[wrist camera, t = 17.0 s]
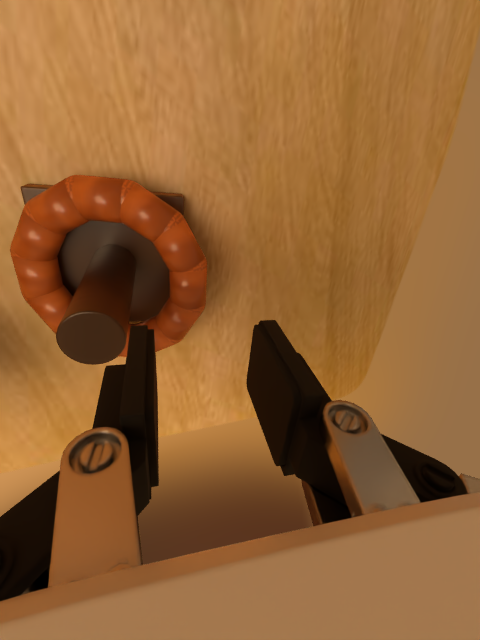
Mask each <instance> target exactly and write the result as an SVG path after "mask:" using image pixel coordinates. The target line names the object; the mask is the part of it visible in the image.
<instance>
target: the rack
mask: <svg viewBox="0 0 480 640" xmlns="http://www.w3.org/2000/svg"><path fill="white" fill-rule="evenodd" d="M50 187H52V185H36V184H27V185H24V186H21V191H22V195H23V199H24V204H26V203H27V202H28V201H29V200H30V199H32V198H33V197H35V196H37V195H38V194H40V193H42V192H44V191H45V190H47V189H49V188H50ZM151 193H153V194H154V195H155V196H157V197H158V198H160V199H161V200H163V201H164V202H166V203H167V204H169V205H170V206H171V207H173V208H174V209H176V210H177V211H179V212H180V213H181V214H182V215H183V217H184V197H183V195H182V194H176V193H160V192H151ZM57 257H58V262H59V267H60V272H61V277H62V282H63V285H64V286H65V287H66V288H67V290H68V291H69V292H70V293H71V295H72V296H73V298H72V300H71V302H70V304H69V306H68V308H67V310H66V312H65V314H64V316H63V318H62V320H61V322H60V324H59V326H58V328H57V332H56V339H57V343H58V345H59V347H60V349H61V350H62V351H63V353H64V354H66V355H67V356H68V357H70V358H71V359H73V360H75V361H77V362H80V363H84V364H103V363H106V362H109V361H111V360H113V359H115V358H116V357H118V356H119V355H120V354H121V353H122V351H123V350H124V348H125V345H126V340H127V333H128V325H129V322H135V321H145V320H147V319H150V318H152V317H154V316H156V315H158V314H159V312H160V311H161V309H162V308H163V306H164V305H165V303H166V301H167V300H168V298H169V297H170V279H169V269H168V267H167V265H166V264H165V262H164V261H163V259H162V257H161V256H160V254H159V252H158V251H157V249H156V247H155V246H154V244H153V242H151V241H150V240H148V239H147V238H145V237H143V236H142V235H140V234H139V233H137V232H136V231H134V230H132V229H131V228H129V227H128V226H126V225H125V224H123V223H115V222H103V221H92V220H90V221H88V222H87V223H85V224H83V225H81V226H79V227H77V228H75V229H74V230H72V231H70V232H68V233H67V234H66V237H65V239H64V241H63V244H62V246H61V249H60V251H59V253H58V256H57Z"/></svg>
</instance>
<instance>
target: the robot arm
mask: <svg viewBox="0 0 480 640" xmlns="http://www.w3.org/2000/svg"><path fill="white" fill-rule="evenodd" d="M247 389H248V392H249V395H250V398H251V400H252V403H253V406H254V408H255V411H256V414H257V417H258V419H259V422H260V425H261V427H262V430H263V433H264V436H265V439H266V441H267V444H268V446H269V449H270V452H271V455H272V458H273V460H274V463H275V464H276V466H281V469H282V471H283V474H284V476H287V475H293V474H295V475H296V477H298V478H300V479H301V480H302V486H303V490H304V494H305V498H306V501H307V505H308V509H309V512H310V516H311V519H312V523H313V527H308V528H304V529H299V530H295V531H291V532H286V533H281V534H277V535H273V536H268V537H263V538H259V539H255V540H250V541H246V542H241V543H237V544H232V545H228V546H224V547H219V548H215V549H210V550H206V551H202V552H197V553H193V554H189V555H184V556H180V557H176V558H171V559H167V560H163V561H158V562H154V563H150V564H146V565H143V561H142V552H141V543H140V534H139V524H138V515H139V514H140V513H141V511H142V510H143V509H144V508H145V507H146V506H147V505H148V503H149V499H151V487H154V486H158V483H159V480H158V479H159V478H158V396H157V374H156V355H155V336H154V329H148V326H147V325H138V326H130V334H129V342H128V350H127V358H126V364H125V365H110V366H106V368H105V371H104V376H103V381H102V386H101V390H100V395H99V400H98V405H97V409H96V414H95V419H94V424H93V428H92V429H91V430H88V431H85V432H84V433H82V434H80V435H78V436H77V437H76V438H74V439H73V440H72V441H71V442H70V443H69V444H68V446H67V447H66V448H65V450H64V451H63V455H62V458H61V465H60V471H58V472H57V473H56V474H55V475H53V476H52V477H51V478H50V479H48V480H47V481H46V482H44V483H43V484H42V485H41V486H39V487H38V488H37V489H35V490H34V491H33V492H32V493H30V494H29V495H28V496H26V497H25V498H24V499H23V500H21V501H20V502H19V503H18V504H16V505H15V506H14V507H12V508H11V509H10V510H9V511H7V512H6V513H5V514H3V515H2V516H1V517H0V640H480V479H478V478H475V477H471V476H468V475H464V474H462V473H461V474H460V476H458V475H457V474H456V473H455V472H454V471H453V470H452V469H450V468H449V467H448V466H447V465H445V464H443V463H441V462H439V461H438V460H436V459H434V458H432V457H430V456H427V455H425V454H423V453H421V452H419V451H417V450H415V449H412V448H410V447H408V446H406V445H404V444H402V443H399V442H397V441H395V440H393V439H391V438H389V437H386V436H384V435H382V434H380V432H379V430H378V429H377V427H376V425H375V424H374V422H373V420H372V418H371V417H370V416H369V415H368V413H367V412H366V411H365V410H363V409H362V408H361V407H359V406H357V405H355V404H354V403H351V402H348V401H342V400H336V401H332V400H331V399H330V397H329V396H328V394H327V393H326V391H325V390H324V388H323V387H322V385H321V384H320V382H319V381H318V379H317V378H316V376H315V375H314V373H313V372H312V370H311V369H310V367H309V366H308V364H307V363H306V361H305V360H304V358H303V357H302V356H301V355H300V354H299V353H297V352H296V351H295V349H294V348H293V346H292V345H291V343H290V342H289V340H288V339H287V337H286V336H285V334H284V333H283V331H282V329H281V328H280V326H279V325H278V323H277V322H276V321H275V320H266V321H260V322H259V324H258V325H255V326H254V330H253V337H252V344H251V352H250V359H249V366H248V374H247Z"/></svg>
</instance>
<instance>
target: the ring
mask: <svg viewBox="0 0 480 640" xmlns="http://www.w3.org/2000/svg"><path fill="white" fill-rule="evenodd" d="M90 220H92V221H103V222H115V223H123V224H125V225H126V226H128V227H129V228H131V229H132V230H134V231H136V232H137V233H139V234H140V235H142V236H143V237H145V238H147V239H148V240H150V241H151V242H153V244H154V246H155V247H156V249H157V251H158V252H159V254H160V256H161V257H162V259H163V261H164V262H165V264H166V265H167V267H168V269H169V279H170V297H169V298H168V300H167V301H166V303H165V305H164V306H163V308H162V309H161V311H160V312H159V314H158V315H156V316H154V317H152V318H150V319H147V320H145V321H143V322H141V323H138V324H129V325H128V333H127V340H126V345H125V348H124V350H123V351H122V353H121V354H120V355H119V356H122V357H127V350H128V342H129V334H130V326H138V325H147V326H148V329H154V336H155V352H157V351H159V350H162V349H164V348H167V347H169V346H172V345H174V344H176V343H178V342H180V341H181V340H182V339H183V338H184V337H185V335H186V334H187V332H188V331H189V330H190V328H191V327H192V326H193V324H194V323H195V321H196V320H197V319H198V317H199V316H200V314H201V313H202V312H203V310H204V308H205V305H206V283H207V261H206V258H205V256H204V254H203V252H202V250H201V248H200V246H199V244H198V243H197V241H196V239H195V237H194V235H193V233H192V231H191V229H190V228H189V226H188V224H187V222H186V220H185V218H184V217H183V215H182V214H181V213H180V212H179V211H177V210H176V209H174V208H173V207H171V206H170V205H169V204H167V203H166V202H164V201H163V200H161V199H160V198H158V197H157V196H155V195H154V194H153V193H151V192H150V191H148V190H147V189H145V188H144V187H142V186H141V185H139V184H138V183H136V182H134V181H132V180H127V179H117V178H106V177H96V176H85V175H73V176H70V177H68V178H66V179H64V180H62V181H61V182H59V183H57V184H56V185H54V186H52V187H50V188H49V189H47V190H45V191H44V192H42V193H40V194H38V195H37V196H35V197H33V198H32V199H30V200H29V201H28V202H27V203H26V204H25V206H24V209H23V212H22V215H21V217H20V220H19V223H18V226H17V229H16V232H15V235H14V238H13V241H12V243H11V248H10V252H11V257H12V260H13V264H14V267H15V271H16V275H17V278H18V282H19V285H20V289H21V293H22V295H23V297H24V299H25V300H26V301H27V303H28V304H29V305H30V306H31V307H32V308H33V309H34V310H35V312H36V313H37V314H38V315H39V316H40V317H41V318H42V319H43V320H44V322H45V323H46V324H47V325H48V326H49V327H50V328H51V329H52V331H53V332H54V333H55V334H56V332H57V328H58V326H59V324H60V322H61V320H62V318H63V316H64V314H65V312H66V310H67V308H68V306H69V304H70V302H71V300H72V298H73V296H72V295H71V293H70V292H69V291H68V290H67V288H66V287H65V286H64V285H63V282H62V277H61V272H60V267H59V262H58V257H57V256H58V253H59V251H60V249H61V246H62V244H63V241H64V239H65V237H66V234H67V233H68V232H70V231H72V230H74V229H75V228H77V227H79V226H81V225H83V224H85V223H87V222H88V221H90Z"/></svg>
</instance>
